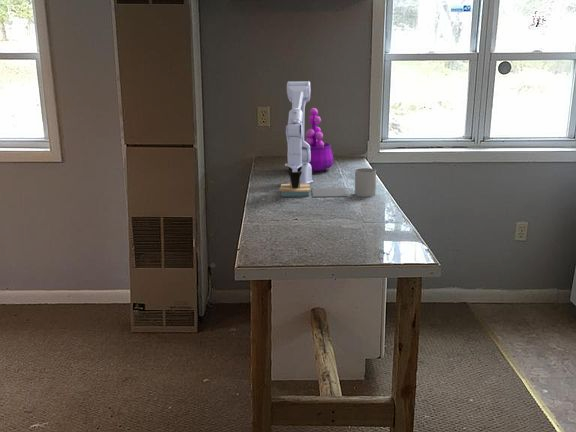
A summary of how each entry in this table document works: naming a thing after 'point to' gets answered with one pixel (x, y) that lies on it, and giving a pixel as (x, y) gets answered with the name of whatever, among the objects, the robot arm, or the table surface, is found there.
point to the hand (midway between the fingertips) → (295, 185)
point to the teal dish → (295, 194)
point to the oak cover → (301, 188)
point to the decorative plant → (318, 145)
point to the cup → (365, 182)
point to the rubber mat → (329, 192)
